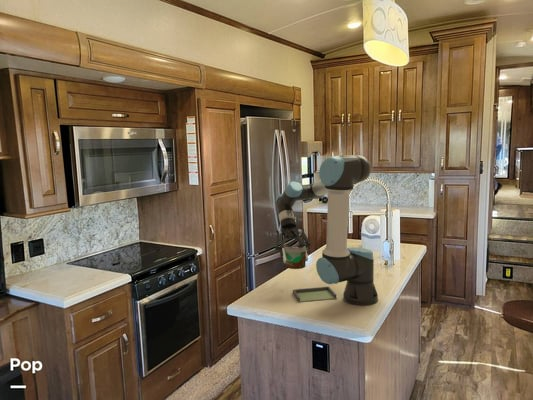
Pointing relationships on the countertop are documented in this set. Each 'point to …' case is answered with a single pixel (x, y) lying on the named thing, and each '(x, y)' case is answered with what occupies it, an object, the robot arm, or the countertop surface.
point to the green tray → (314, 294)
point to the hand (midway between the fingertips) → (296, 260)
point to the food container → (295, 256)
